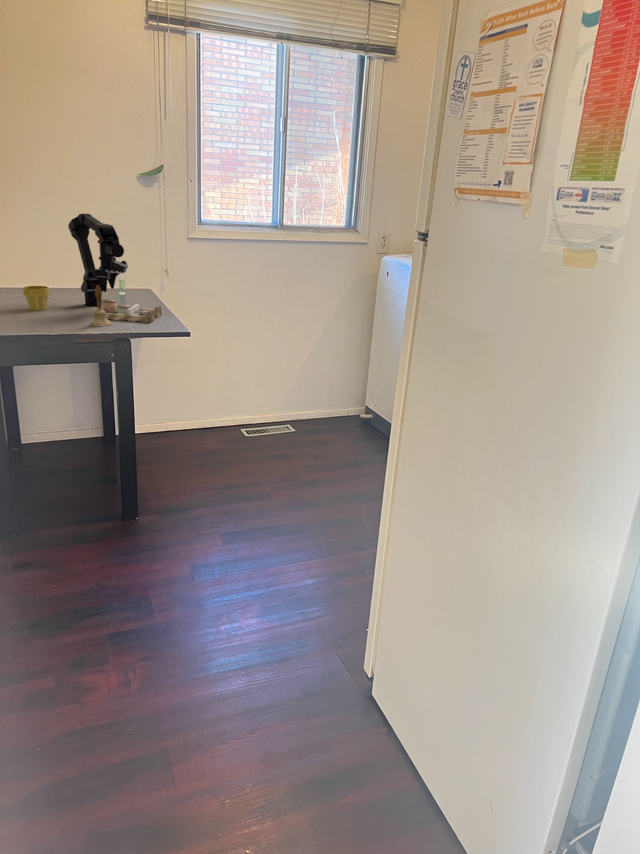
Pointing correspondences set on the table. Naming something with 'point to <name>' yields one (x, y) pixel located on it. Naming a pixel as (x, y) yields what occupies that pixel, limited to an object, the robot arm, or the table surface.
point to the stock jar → (123, 308)
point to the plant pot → (36, 297)
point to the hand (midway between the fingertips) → (108, 290)
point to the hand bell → (99, 310)
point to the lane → (151, 315)
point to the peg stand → (135, 310)
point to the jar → (109, 305)
